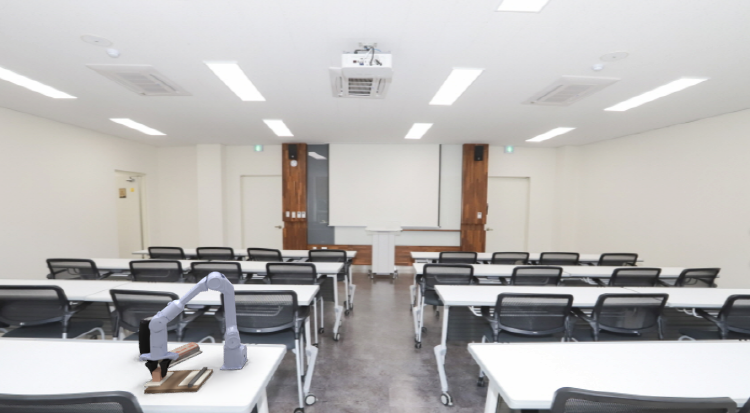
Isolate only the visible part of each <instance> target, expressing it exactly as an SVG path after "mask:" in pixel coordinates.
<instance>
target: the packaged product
mask: <svg viewBox="0 0 750 413" xmlns="http://www.w3.org/2000/svg"><path fill="white" fill-rule="evenodd" d="M200 348H201V347H200V346H199V344H198V343H196V342H195V341H194V342H193V341H192V342H189V343H187V344H184V345H181V346H179V347H175V349H171V350H168V351H169V352H174V353H179V357H178V358H177V359H176V360H173V359H172V361H171V363H170V365H169V368H171V367H174V366H176V365H179V364H180V363H183V362H185V361H188V360H189V359H192V358H195V357H197V355H198V356H199V355H201V354H202V353H203V351H202V350H201V349H200ZM161 361H163V359H160V360H159V361H158V367H159V366H160V365H159V363H160V362H161ZM169 368H168V369H169Z"/></svg>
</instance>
